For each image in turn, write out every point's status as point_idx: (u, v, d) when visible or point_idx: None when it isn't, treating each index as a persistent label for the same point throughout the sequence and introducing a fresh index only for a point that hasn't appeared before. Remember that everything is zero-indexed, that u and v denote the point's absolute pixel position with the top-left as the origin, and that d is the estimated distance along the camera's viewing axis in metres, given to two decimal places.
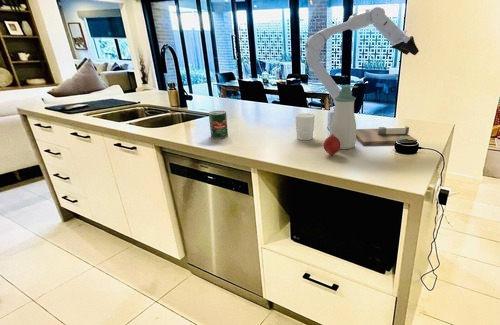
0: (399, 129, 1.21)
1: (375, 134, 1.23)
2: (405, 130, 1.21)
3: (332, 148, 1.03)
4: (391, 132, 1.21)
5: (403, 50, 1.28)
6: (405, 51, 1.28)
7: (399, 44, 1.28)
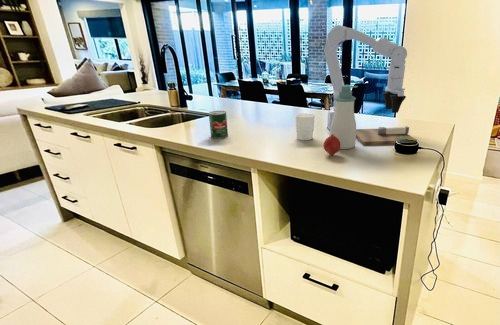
0: (399, 129, 1.21)
1: (375, 134, 1.23)
2: (405, 130, 1.21)
3: (332, 148, 1.03)
4: (391, 132, 1.21)
5: (387, 103, 1.29)
6: (388, 105, 1.29)
7: (389, 96, 1.28)
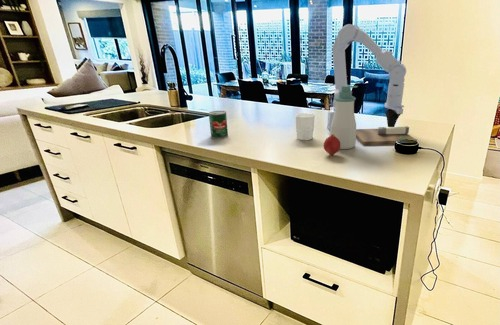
0: (399, 129, 1.21)
1: (375, 134, 1.23)
2: (405, 130, 1.21)
3: (332, 148, 1.03)
4: (391, 132, 1.21)
5: None
6: None
7: None
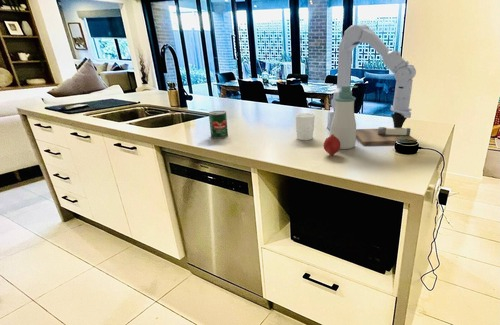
0: (400, 130, 1.19)
1: (375, 134, 1.23)
2: (407, 131, 1.19)
3: (332, 148, 1.03)
4: (391, 133, 1.21)
5: (396, 125, 1.21)
6: (397, 127, 1.21)
7: (399, 118, 1.19)
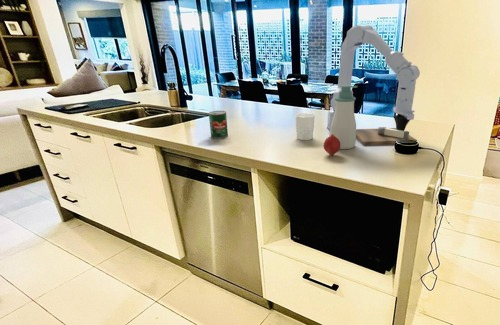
0: (397, 132, 1.17)
1: (375, 134, 1.23)
2: (404, 134, 1.15)
3: (332, 148, 1.03)
4: (389, 134, 1.19)
5: None
6: (399, 129, 1.18)
7: None
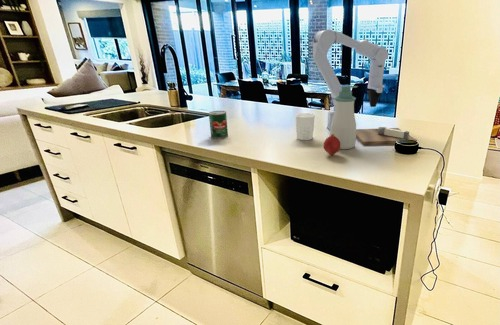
0: (397, 132, 1.17)
1: (375, 134, 1.23)
2: (404, 134, 1.15)
3: (332, 148, 1.03)
4: (389, 134, 1.19)
5: None
6: None
7: None
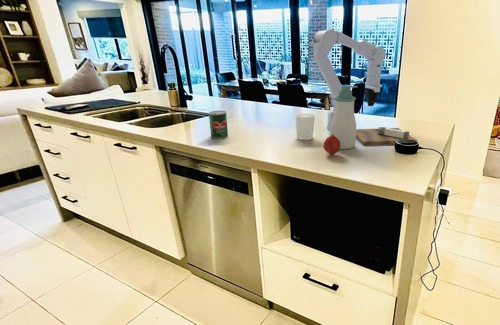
0: (397, 132, 1.17)
1: (375, 134, 1.23)
2: (404, 134, 1.15)
3: (332, 148, 1.03)
4: (389, 134, 1.19)
5: None
6: None
7: None
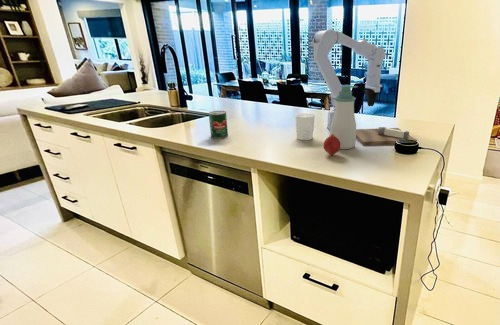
0: (397, 132, 1.17)
1: (375, 134, 1.23)
2: (404, 134, 1.15)
3: (332, 148, 1.03)
4: (389, 134, 1.19)
5: None
6: None
7: None
